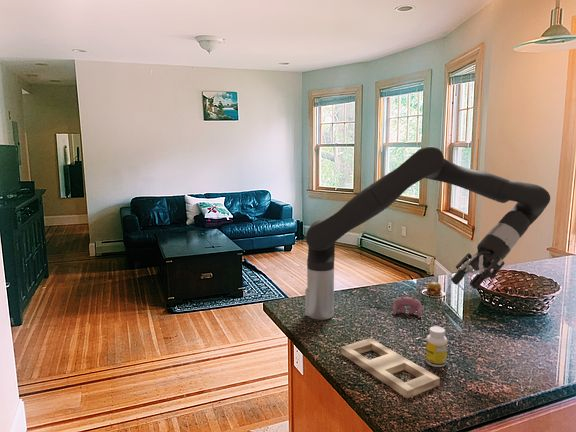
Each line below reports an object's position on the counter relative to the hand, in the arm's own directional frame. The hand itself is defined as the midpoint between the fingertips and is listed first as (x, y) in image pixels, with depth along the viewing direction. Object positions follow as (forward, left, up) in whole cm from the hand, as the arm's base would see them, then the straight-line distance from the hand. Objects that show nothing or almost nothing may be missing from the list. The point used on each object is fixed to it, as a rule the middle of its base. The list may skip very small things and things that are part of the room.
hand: (462, 284), depth 121 cm
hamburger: (-11, +49, -22) cm, 55 cm away
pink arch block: (-18, +25, -21) cm, 37 cm away
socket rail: (-18, -15, -21) cm, 31 cm away
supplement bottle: (-6, -7, -21) cm, 23 cm away
